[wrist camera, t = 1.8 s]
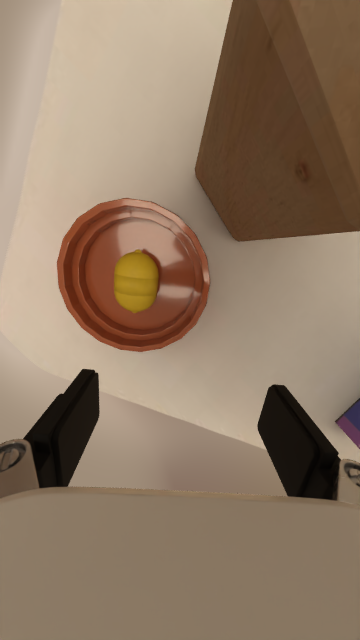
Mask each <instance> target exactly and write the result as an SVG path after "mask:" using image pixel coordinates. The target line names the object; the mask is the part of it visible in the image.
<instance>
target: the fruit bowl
mask: <svg viewBox="0 0 360 640" xmlns="http://www.w3.org/2000/svg"><path fill="white" fill-rule="evenodd" d="M136 249H140V250H141V251H142V253H144V254H146V255H148V256H149V257H151V258H152V259H153V260H154V262H155V264H156V266H157V268H158V273H159V278H158V288H157V296H156V299H155V301H154V303H153V304H152V305H151V306H150V307H149V308H148V309H146V310H144V311H140V312H137V313H133V312H132V311H129V310H126V309H125V308H123V307H122V306H121V305H120V304H119V303H118V302H117V300H116V298H115V295H114V271H115V266H116V263H117V262H118V260H119V259H120V258H121V257H122V256H123V255H125V254H127V253H130V252H135V250H136ZM57 270H58V284H59V289H60V292H61V294H62V297H63V299H64V302H65V304H66V307H67V309H68V311H69V312H70V313H71V315H72V316H73V317H74V318H75V320H76V321H77V322H78V324H79V325H80V326H81V327H82V328H83V329H84V330H85V331H87V332H88V333H89V334H91V335H92V336H93V337H94V338H96V339H97V340H98V341H100V342H103V343H105V344H108V345H110V346H113V347H115V348H118V349H120V350H129V351H138V352H143V351H149V350H155V349H161V348H163V347H165V346H167V345H169V344H171V343H173V342H175V341H177V340H179V339H181V338H182V337H183V336H184V335H185V334H186V333H187V332H188V331H189V330H190V329H191V328H193V327H194V326H195V325H196V323H197V321H198V319H199V317H200V316H201V314H202V312H203V310H204V308H205V306H206V303H207V297H208V292H209V286H210V277H209V270H208V262H207V257H206V255H205V253H204V251H203V249H202V247H201V245H200V243H199V240H198V238H197V236H196V235H195V233H194V232H193V231H192V230H191V229H190V228H189V227H188V226H187V225H186V224H185V223H184V222H183V221H182V220H181V219H180V217H179V216H178V215H176V214H174V213H172V212H171V211H169V210H167V209H165V208H163V207H161V206H159V205H157V204H156V203H154V202H150V201H143V200H136V199H130V198H123V199H118V200H114V201H109V202H104V203H100V204H98V205H96V206H95V207H93V208H92V209H90V210H89V211H87V212H86V213H84V214H83V215H81V216H80V217H78V218H77V220H76V221H75V222H74V224H73V225H72V227H71V228H70V230H69V231H68V232H67V234H66V235H65V237H64V239H63V241H62V245H61V249H60V253H59V257H58V260H57Z"/></svg>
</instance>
